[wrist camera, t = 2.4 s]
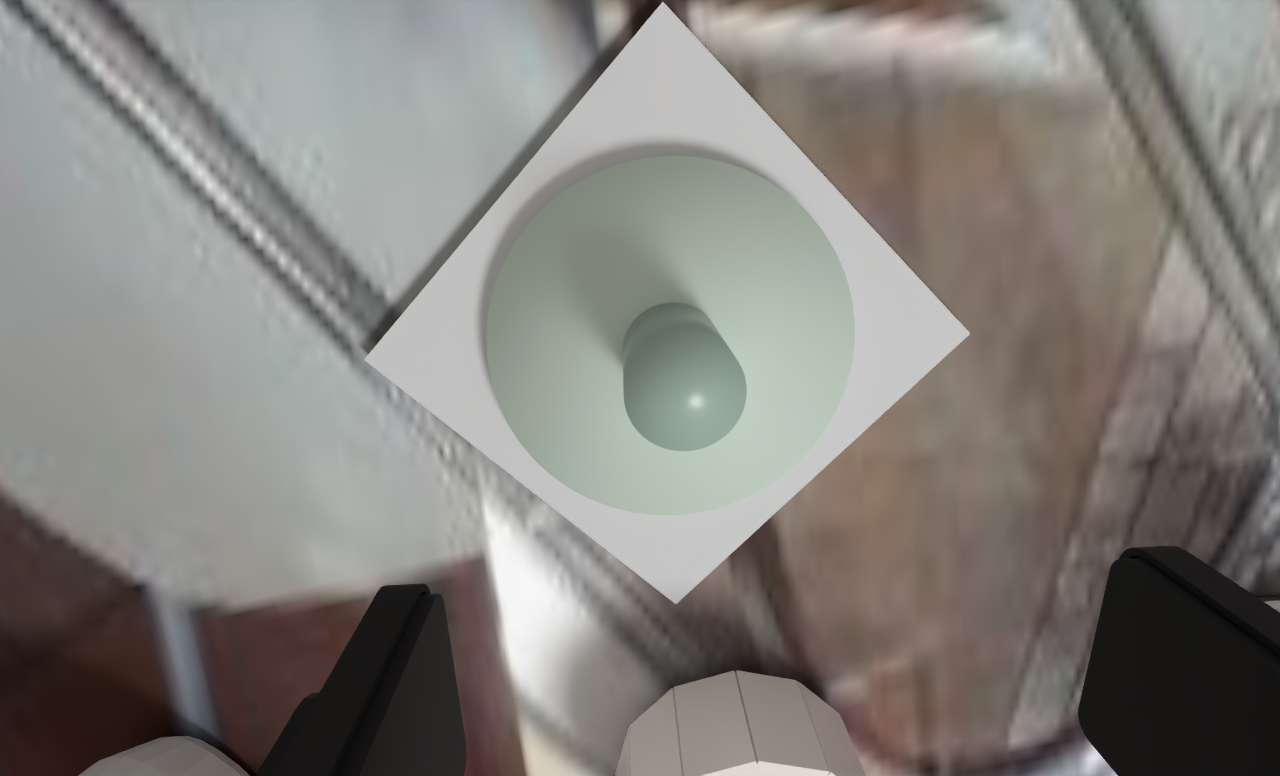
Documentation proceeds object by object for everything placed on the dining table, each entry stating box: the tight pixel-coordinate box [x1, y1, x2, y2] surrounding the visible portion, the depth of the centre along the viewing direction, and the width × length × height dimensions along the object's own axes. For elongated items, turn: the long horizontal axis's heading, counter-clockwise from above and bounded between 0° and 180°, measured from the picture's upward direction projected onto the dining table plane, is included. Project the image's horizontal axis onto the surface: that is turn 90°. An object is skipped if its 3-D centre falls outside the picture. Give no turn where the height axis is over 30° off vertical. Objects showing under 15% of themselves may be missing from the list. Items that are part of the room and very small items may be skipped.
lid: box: [486, 156, 855, 515], centre depth 24 cm, size 15×15×6 cm
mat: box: [364, 2, 970, 604], centre depth 27 cm, size 18×18×1 cm
